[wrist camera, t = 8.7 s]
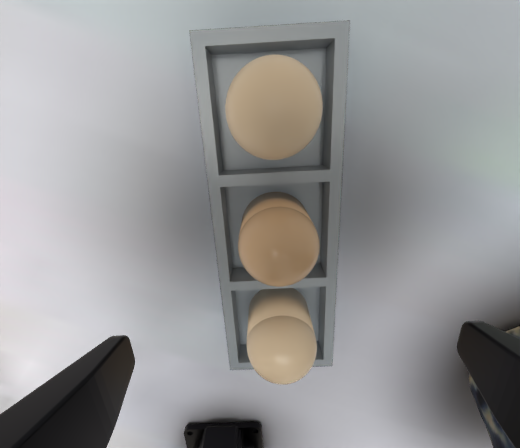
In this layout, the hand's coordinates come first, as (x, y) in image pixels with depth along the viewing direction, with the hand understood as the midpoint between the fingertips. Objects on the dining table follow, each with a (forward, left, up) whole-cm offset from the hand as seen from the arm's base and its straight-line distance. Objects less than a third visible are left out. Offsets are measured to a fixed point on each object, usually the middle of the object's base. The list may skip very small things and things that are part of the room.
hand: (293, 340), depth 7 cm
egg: (0, 0, -9) cm, 9 cm away
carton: (0, 0, -10) cm, 10 cm away
